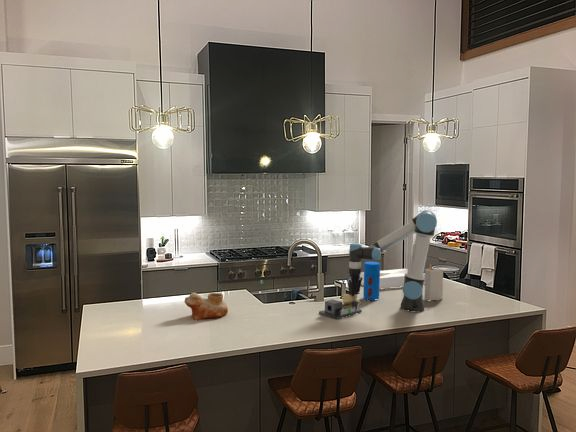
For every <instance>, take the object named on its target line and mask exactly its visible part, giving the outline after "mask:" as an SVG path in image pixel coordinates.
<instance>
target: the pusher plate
mask: <svg viewBox="0 0 576 432" xmlns="http://www.w3.org/2000/svg"><path fill="white" fill-rule="evenodd" d="M352 301H357V302H358V306H361V305H362V304H361V303H362V302H361V301H360V300H357V299H356V296H353V295H351V294H349V293H344V294H343V295H342V307H345V308H350V307H354V306H352Z"/></svg>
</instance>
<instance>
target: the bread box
mask: <svg viewBox="0 0 576 432" xmlns="http://www.w3.org/2000/svg"><path fill="white" fill-rule="evenodd" d="M408 271H409V269H408V268H398V269H388V270H387V269H386V270H385V269H384V270H380V287H379V289H381V288H390V287H400V286H404V276H405V274H406V273H408ZM360 277H361V278H363V279H362V281H361V284H363V285H364V271H362V272H361V274H360ZM423 277H424V278H425V273H423ZM424 284H425V280H424ZM363 285H362V286H363Z"/></svg>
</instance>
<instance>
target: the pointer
mask: <svg viewBox="0 0 576 432" xmlns="http://www.w3.org/2000/svg"><path fill="white" fill-rule="evenodd" d="M357 301H358V300H357ZM357 301H352V306H354V307H356V310H357V306H359V305H358V302H357Z"/></svg>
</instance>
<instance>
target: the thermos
mask: <svg viewBox="0 0 576 432" xmlns="http://www.w3.org/2000/svg"><path fill="white" fill-rule="evenodd" d="M380 271H381V263H380V262H378V261H364V266H363V272H364V286H363V290H362V291H363V300H365V299H368V300H375V299H379V300H380V290H379V287H380ZM368 300H367V301H368Z"/></svg>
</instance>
